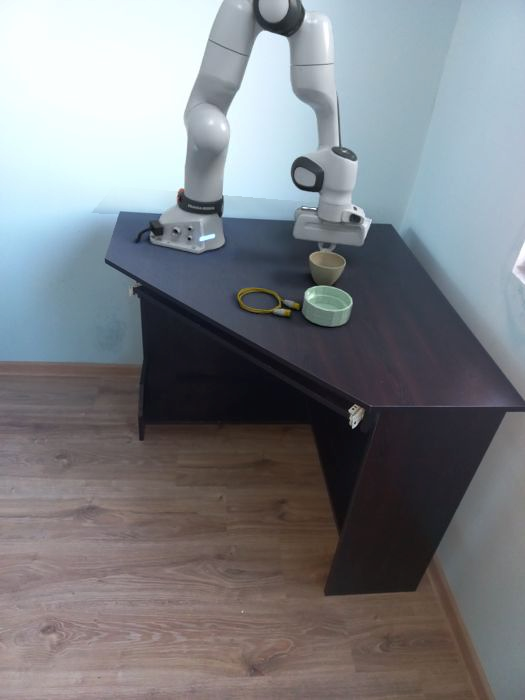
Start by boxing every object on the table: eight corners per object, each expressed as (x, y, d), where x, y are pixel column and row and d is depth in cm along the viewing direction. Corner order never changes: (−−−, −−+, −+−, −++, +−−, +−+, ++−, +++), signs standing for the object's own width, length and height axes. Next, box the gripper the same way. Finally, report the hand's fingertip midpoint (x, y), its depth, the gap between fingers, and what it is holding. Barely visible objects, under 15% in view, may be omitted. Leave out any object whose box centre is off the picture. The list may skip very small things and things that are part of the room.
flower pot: (340, 276, 154) (345, 253, 150) (341, 293, 146) (346, 270, 142) (306, 271, 154) (310, 248, 150) (305, 288, 146) (309, 265, 142)
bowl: (301, 324, 131) (304, 307, 128) (301, 299, 141) (304, 283, 138) (349, 330, 131) (354, 313, 128) (346, 305, 141) (350, 288, 138)
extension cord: (268, 327, 129) (269, 320, 128) (227, 298, 138) (228, 291, 136) (303, 312, 136) (304, 305, 135) (262, 285, 145) (263, 279, 144)
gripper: (295, 209, 145) (288, 255, 153) (370, 218, 145) (359, 264, 153) (296, 201, 150) (289, 246, 158) (368, 210, 150) (358, 254, 158)
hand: (324, 255), depth 155 cm, fingers closed
